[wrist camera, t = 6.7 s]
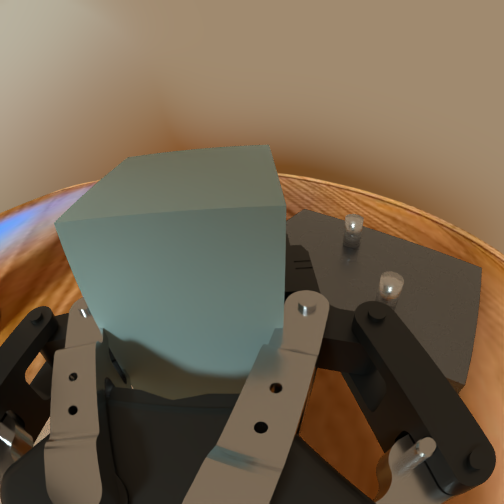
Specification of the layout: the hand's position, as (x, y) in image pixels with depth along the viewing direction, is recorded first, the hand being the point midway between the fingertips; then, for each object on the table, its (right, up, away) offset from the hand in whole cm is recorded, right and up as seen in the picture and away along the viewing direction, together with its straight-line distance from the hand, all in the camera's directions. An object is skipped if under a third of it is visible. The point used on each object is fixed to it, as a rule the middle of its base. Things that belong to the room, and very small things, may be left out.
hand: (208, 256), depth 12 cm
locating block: (0, -7, +1) cm, 7 cm away
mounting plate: (+11, -3, +11) cm, 16 cm away
